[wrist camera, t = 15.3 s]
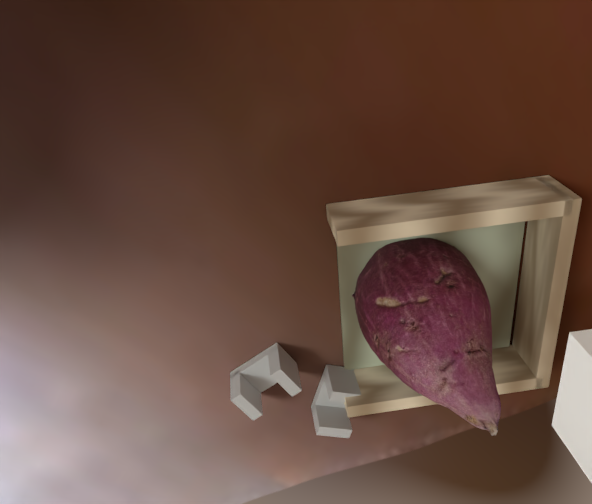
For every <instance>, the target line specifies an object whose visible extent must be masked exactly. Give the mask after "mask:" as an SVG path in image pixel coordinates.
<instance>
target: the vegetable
mask: <svg viewBox="0 0 592 504" xmlns="http://www.w3.org/2000/svg"><path fill="white" fill-rule="evenodd" d="M352 297H354V300H355V309H356V314H357V319H358V323H359V326H360V329H361V331H362V334H363V336H364V338H365V339H366V341H367V343H368V344H369V346H370V348H371V349H372V350H373V352H374V353H375V354H376V355H377V356H378V358H379V359H380V361H381V362H382V363H384V364H385V365H386V366H387V368H389V369H390V370H391V371H392V372H393V373H394V374H395V375H396V376H397V377H398V378H399V379H400V380H401V381H402V382H403V383H405V384H406V385H407V386H409V387H410V388H411V389H413V390H414V391H416V392H417V393H419V394H421V395H423V396H425V397H426V398H428V399H430V400H432V401H433V402H435V403H437V404H440V405H442V406H445V407H447V408H449V409H450V410H452V411H453V412H455V413H456V414H458V415H459V416H460V417H462V418H463V419H465V420H466V421H468V422H469V423H471V424H472V425H474V426H476V427H478V428H480V429H484V430H488V431H489V432H490V434H491V435H492V436H494V435H496V433H497V431H498V423H499V418H500V412H501V403H500V398H499V395H498V391H497V387H496V382H495V377H494V372H493V368H492V324H491V307H490V302H489V299H488V295H487V292H486V289H485V287H484V285H483V283H482V281H481V279H480V277H479V276H478V274H477V272H476V271H475V269H474V268H473V266H472V265H471V263H470V262H469V260H468V259H467V258H466V256H465V255H464V254H463V253H462V252H461V251H459V250H458V249H457V248H455V246H451V245H449V244H447V243H445V242H443V241H439V240H437V239H433V238H416V239H408V240H401V241H398V242H393V243H390V244H387V245H385V246H383V247H382V248H380V249H379V250H377V251H376V252H375V253H374V254H373V256H372V257H371V258H370V259H369V261H368V262H367V264H366V266H365V267H364V269H363V270H362V272H361V273H360V274H359V277H358V279H357V283H356V288H355V292H354V293H353V294H352Z"/></svg>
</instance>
